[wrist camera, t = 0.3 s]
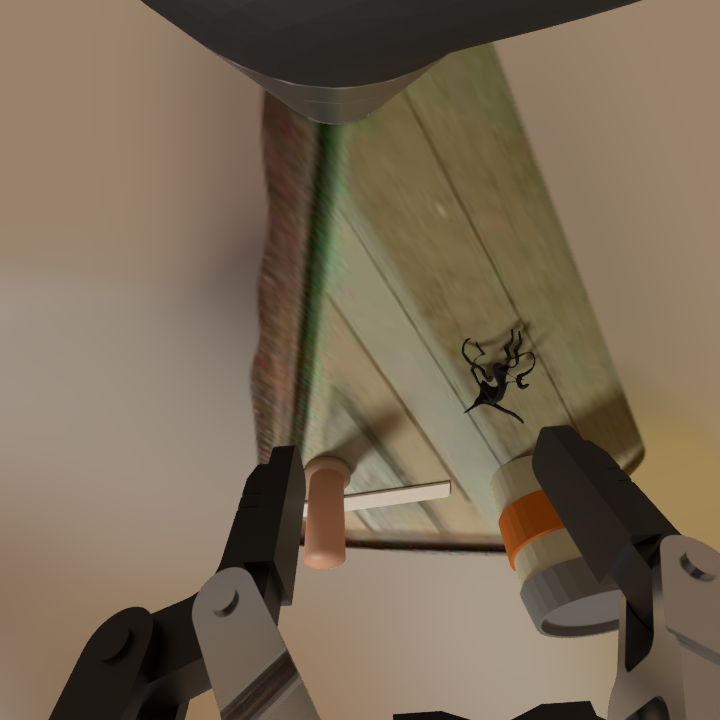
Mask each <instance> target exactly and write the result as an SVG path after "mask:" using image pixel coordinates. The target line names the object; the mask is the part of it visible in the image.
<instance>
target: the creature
mask: <svg viewBox="0 0 720 720" xmlns="http://www.w3.org/2000/svg"><path fill="white" fill-rule="evenodd" d="M511 335H512V339H511V341H510V342H509V343H508V344H507V345H506V346H505V347H504V350H505V352H506V354H507V359H506V360H507V363H506V364H505V365H502V364H500V363H496V364H494V365H493V374H494V377H495V379H496V381H497V383H498V385H497V386H496V387H491V386H489V385H488V383H487V382H491V381H492V380H493V377H492V376H489V377H487V376H486V374H485V370H484V369H483V368H482V367H480V366H479V365H476V364H474V362H473V363H472V362H471V361H470V360H469V358H468V357H467V356H466V355H465V353H464V345H465V343H466V342H467V341H468V340H469V339H471V338H469V339H467V340H466V341H465V342H464V344H463V346H462V354H463V356H464V358H465V359H466V361H467V362H468V363H469V364H470V365H472V367H471V372H472V374H473V375H474V377H475V379H476V381H477V383H478V385H479V387H480V394H479V396H478V398H477V399H476V400H475V402H474V404H473V405H472V406H471V407H470V408H469V409H468V410H467V411H465V412H464V413H466V412H468V411H470V410H471V409H473V408H474V407H477V406H478V405H480V404H488V405H491V406H493V407H495V408H497V409H499V410H501V411H503V412H505V413H507V414H510V415H512V416H514V417H515V418H517V419H518V420H519V421H521V422H522V424H523V423H524V422H523V420H522V419H521V418H520V417H519V416H517V415H516V414H515V413H513V412H511V411H509V410H506V409H504V408H502V407H501V406H499V405H498V404H496V403H497V402H499V401H501V400H502V398H503V396H504V393H505V391H506V387H507V384H508V383H509V382H507V383H506V375H507V374H508V373H507V371H508V370H507V369H509V368H514V367H515V366H516V365H517V364H518V363H519V357H520V356H522V355H524V354H526V353H531V354H532V355H533V357H534V354H533V353H532V352H526V353H523V354H521V355H518V349H519V348H520V346H521V344H522V340H521V334H520V331H519V332H518V335H519V341H520V342H519V344H518V345H517V346H516V347H515V348H514V354H515V357H514V358H515V359H516V364H515V366H513V367H510V366H508V365H507V364H508V363H509V362H510V360H511V359H514V358H511V355H510V352H509V347H510V346H511V345H512V343H513V329H511ZM476 345H477V347H478V349H479V350H480V348H479V346H478V344H477V342H476ZM480 351H481V350H480ZM481 353H482V354H481V355H485V354H484V353H483V352H482V351H481ZM481 355H480V356H481ZM478 357H479V356H478ZM476 359H477V358H476ZM476 359H475V360H476ZM475 360H474V361H475ZM534 365H535V357H534V364H533V367H534ZM500 366H502V367H500ZM474 367H476V368H478V369H480V370H481V372H482V375H483V376H484V378H485V379H486V380H487V382H485V381H483V380H482V382H481V384H480V383H479V381H478V379H477V376H476V373H475V372H474V369H473V368H474ZM533 367H532V368H531V369H529V370H528V371H527V372H525V373H522V374H519V375H517V378H515V379H516V381H513V382H516V383H517V386H518V387H519V388H520V389H525V388H527V387H528V386H529V384H525V385H522V383H521V380H524V379H522V377H523V376H525V375H527V374H528V373H530V372H531V371H532V369H533ZM508 375H509V374H508ZM510 376H511V375H510ZM512 377H513V376H512Z"/></svg>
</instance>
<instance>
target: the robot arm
mask: <svg viewBox="0 0 720 720" xmlns="http://www.w3.org/2000/svg"><path fill="white" fill-rule="evenodd" d="M141 1H142V2H143V3H145V4H146V5H147V6H149V7H150V8H151V9H153V10H154V11H156V12H157V13H159V14H160V15H161V16H163V17H164V18H166V19H167V20H168V21H170V22H172V23H173V24H174V25H176V26H177V27H178V28H179V29H181V30H182V31H184V32H185V33H187V34H188V35H189V36H191V37H192V38H193V39H195V40H196V41H198V42H199V43H201V44H202V45H203V46H205V47H206V48H207V49H209V50H210V51H212V52H213V53H215V54H216V55H217V56H219V57H220V58H222V59H223V60H224V61H226V62H227V63H229V64H230V65H232V66H233V67H235V68H236V69H238V70H239V71H240V72H242V73H243V74H245V75H246V76H248V77H249V78H250V79H252V80H253V81H254V82H256V83H257V84H259V85H260V86H261V87H263V88H264V89H266V90H267V91H268V92H270V93H271V94H272V95H274V96H275V97H277V98H278V99H279V100H281V101H282V102H283V103H285V104H286V105H288V106H289V107H291V108H292V109H293V110H295V111H296V112H298V113H299V114H301V115H303V116H305V117H307V118H308V119H309V120H312V121H315V122H318V123H323V124H330V125H333V124H334V125H340V124H347V123H352V122H356V121H358V120H361V119H363V118H365V117H367V116H369V115H371V114H372V113H374V112H375V111H376V110H378V109H379V108H381V107H382V106H383V105H384V104H385V103H386V102H387V101H389V100H390V99H391V98H393V97H394V96H395V95H397V94H398V93H399V92H400V91H402V90H403V89H404V88H406V87H407V86H408V85H410V84H411V83H412V82H413V81H415V80H416V79H417V78H419V77H420V76H421V75H422V74H424V73H425V72H426V71H428V70H429V69H430V68H431V67H433V66H434V65H435V64H437V63H438V62H439V61H441V60H442V59H443V58H445V57H446V56H447V55H448V54H450V53H451V52H455V51H459V50H462V49H466V48H470V47H474V46H478V45H482V44H485V43H489V42H493V41H497V40H501V39H505V38H509V37H513V36H517V35H521V34H525V33H529V32H533V31H537V30H541V29H544V28H548V27H552V26H556V25H559V24H563V23H567V22H570V21H574V20H578V19H581V18H585V17H588V16H592V15H595V14H598V13H602V12H605V11H608V10H612V9H615V8H618V7H622V6H625V5H629V4H632V3H635V2H638V1H641V0H141ZM532 469H533V472H534V475H535V477H536V479H537V481H538V483H539V484H540V486H541V488H542V489H543V491H544V493H545V494H546V496H547V498H548V499H549V501H550V503H551V504H552V506H553V508H554V509H555V511H556V513H557V514H558V516H559V518H560V519H561V521H562V523H563V524H564V526H565V528H566V529H567V531H568V533H569V534H570V536H571V538H572V539H573V541H574V543H575V544H576V546H577V548H578V549H579V551H580V553H581V555H582V556H583V558H584V560H585V561H586V563H587V565H588V566H589V568H590V570H591V571H592V573H593V575H594V576H595V578H596V580H597V581H598V583H599V585H604V584H617V585H618V587H619V588H620V590H621V591H622V595H621V597H620V609H619V636H618V637H619V639H618V665H617V676H616V681H615V684H614V687H613V689H612V692H611V696H610V700H609V707H608V720H720V553H719V552H717V551H716V550H714V549H713V548H711V547H710V546H708V545H706V544H704V543H703V542H700V541H698V540H696V539H693V538H690V537H686V536H682V535H681V534H680V533H679V532H678V531H677V530H676V529H675V528H674V526H673V525H672V524H671V523H670V522H669V521H668V520H667V519H666V518H665V516H664V515H663V514H662V513H661V512H660V511H659V510H658V509H657V508H656V506H655V505H654V504H653V503H652V502H651V501H650V500H649V499H648V497H647V496H646V495H645V494H644V493H643V492H642V491H641V490H640V488H639V487H638V486H637V485H636V484H635V483H634V482H632V481H631V478H630V477H629V476H628V475H627V474H626V473H625V472H624V471H623V470H621V469H620V466H619V465H618V464H617V463H616V462H615V461H614V459H613V458H612V457H611V456H610V455H609V454H608V453H607V452H606V451H604V450H603V449H601V448H600V447H598V446H597V445H595V444H594V443H593V442H591V441H590V440H588V441H584V440H583V439H582V438H581V437H580V435H579V434H578V433H577V432H576V431H575V430H574V429H573V428H572V427H571V426H569V425H563V426H550V427H543V428H542V429H541V431H540V434H539V437H538V440H537V444H536V447H535V450H534V454H533V457H532ZM305 495H306V478H305V473H304V469H303V464H302V460H301V456H300V452H299V448H298V446H297V445H291V446H278V447H274V448H273V450H272V453H271V457H270V461H269V464H261V465H257V467H256V468H255V469H254V471H253V472H252V473H251V475H250V476H249V477H248V478H247V481H246V484H245V487H244V490H243V494H242V498H241V500H240V503H239V506H238V511H237V513H236V516H235V519H234V522H233V525H232V528H231V531H230V534H229V538H228V541H227V544H226V547H225V550H224V554H223V557H222V560H221V563H220V565H219V567H218V569H217V571H216V573H215V574H214V575H213V576H212V577H211V578H210V579H209V580H208V581H207V582H206V583H205V584H204V585H203V587H202V588H201V589H200V591H199V592H197V593H196V594H194V595H193V596H191V597H189V598H187V599H185V600H183V601H180V602H179V603H176V604H173V605H171V606H169V607H166V608H164V609H162V610H160V611H157V612H155V613H152V614H150V613H149V612H148V611H147V610H146V609H144V608H142V607H131V608H127V609H124V610H122V611H120V612H118V613H116V614H115V615H113V616H112V617H110V618H109V619H108V620H107V621H106V622H104V623H103V624H102V625H101V626H100V627H99V628H98V629H97V630H96V632H95V633H94V634H93V635H92V636H91V638H90V639H89V641H88V642H87V644H86V646H85V648H84V649H83V651H82V653H81V655H80V658H79V659H78V661H77V663H76V665H75V667H74V669H73V671H72V673H71V675H70V677H69V679H68V681H67V683H66V686H65V687H64V689H63V691H62V694H61V696H60V697H59V699H58V701H57V704H56V706H55V708H54V710H53V712H52V714H51V716H50V718H49V720H185V716H186V712H187V709H188V705H189V701H190V699H192V698H194V697H196V696H198V695H200V694H201V693H204V692H205V691H207V690H209V689H211V688H213V691H214V695H215V698H216V702H217V705H218V708H219V712H220V716H221V720H322V719H321V717H320V715H319V713H318V711H317V709H316V707H315V705H314V703H313V701H312V698H311V696H310V694H309V693H308V690H307V688H306V686H305V684H304V682H303V680H302V678H301V676H300V674H299V672H298V670H297V668H296V666H295V663H294V661H293V659H292V657H291V655H290V653H289V651H288V649H287V647H286V645H285V643H284V641H283V639H282V637H281V635H280V633H279V631H278V629H277V626H278V619H279V611H280V606H289V605H292V598H293V591H294V583H295V575H296V567H297V558H298V550H299V543H300V535H301V527H302V519H303V511H304V503H305ZM393 720H469V719H466V718H462V717H459V716H456V715H452V714H449V713H446V712H443V711H435V712H421V713H407V714H393ZM512 720H606V719H603V718H601V717H599V716H597V715H596V713H595V711H594V709H593V707H592V704H591V702H590V701H581V702H566V703H553V704H541V705H539V706H537V707H535V708H533V709H531V710H530V711H528V712H526V713H524V714H522V715H520V716H518V717H516V718H514V719H512Z"/></svg>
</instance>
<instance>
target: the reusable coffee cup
mask: <svg viewBox="0 0 720 720" xmlns="http://www.w3.org/2000/svg"><path fill="white" fill-rule="evenodd" d="M532 457H533V455H530V456H524V457H521V458H517V459H515V460H513V461H510V462H509V463H507V464H505V465H504V466H502V467H501V468H500V469H498V470H497V471H496V472H495V474H494V475H493V477H492V479H491V488H492V492H493V495H494V498H495V502H496V505H497V508H498V512H499V515H500V518H499V527H500V531H501V534H502V538H503V541H504V545H505V548H506V551H507V555H508V558H509V561H510V565H511V567H512V568H513V570H514V571H516V572H517V576H518V579H519V582H520V586H521V592H520V595H521V599H522V601H523V603H524V605H525V607H526V609H527V611H528V613H529V614H530V617H531V619H532V621H533V623H534V625H535V627H536V628H537V630H538V631H539V632H540V633H541V634H543V635H545V636H550V637H556V638H577V637H586V636H594V635H599V634H604V633H608V632H613V631H617V630H619V609H620V597H621V595H622V591H621V590H620V588H619V587H618V585H617V584H604V585H599V583H598V581H597V580H596V578H595V576H594V575H593V573H592V571H591V570H590V568H589V566H588V565H587V563H586V561H585V560H584V558H583V556H582V555H581V553H580V551H579V549H578V548H577V546H576V544H575V543H574V541H573V539H572V538H571V536H570V534H569V533H568V531H567V529H566V528H565V526H564V524H563V523H562V521H561V519H560V518H559V516H558V514H557V513H556V511H555V509H554V508H553V506H552V504H551V503H550V501H549V499H548V498H547V496H546V494H545V493H544V491H543V489H542V488H541V486H540V484H539V483H538V481H537V479H536V477H535V475H534V472H533V469H532Z"/></svg>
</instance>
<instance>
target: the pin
mask: <svg viewBox="0 0 720 720" xmlns="http://www.w3.org/2000/svg"><path fill="white" fill-rule="evenodd" d="M304 473H305V478H306V487H307V488H308V489H309V496H308V509H307V522H306V535H305V548H304V563H305V564H306V565H308V566H309V567H312V568H316V569H330V568H335V567H337V566H339V565H341V564H342V563H343V562H344V561H345V518H344V489H345V488H346V487H347V486H348V485H349V483H350V468H349V466H348V464H347V463H346V462H345V461H343V460H342V459H339V458H336V457H331V456H324V457H318V458H315V459H313V460H311V461H310V462H308V463H307V464H306V466H305V468H304Z"/></svg>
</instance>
